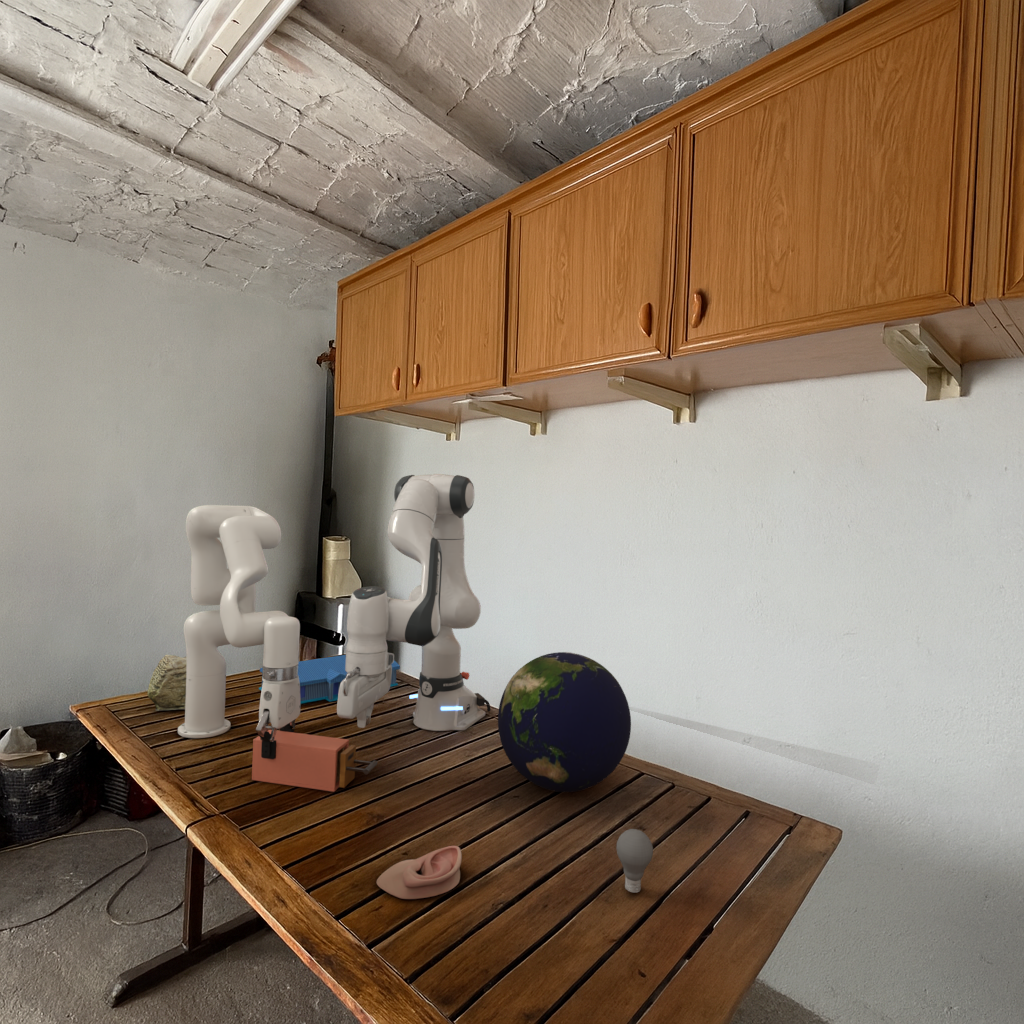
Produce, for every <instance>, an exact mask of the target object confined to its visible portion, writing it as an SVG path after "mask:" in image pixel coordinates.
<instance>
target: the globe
mask: <svg viewBox="0 0 1024 1024" xmlns="http://www.w3.org/2000/svg"><path fill="white" fill-rule="evenodd" d="M497 712H498V713H497V730H498V735H499V740H500V743H501V746H502V749H503V751H504V753H505V756H506V757H507V759H508V761H509V762H510V764H511V765H512V766H513V768H515V770H516V771H517V772H518V773H519V774H520V775H521V776H522V777H524V778H525V779H526V780H527V781H529V782H530V783H532V784H533V785H534V786H535V785H536V786H538V787H540V788H542V789H545V790H547V791H551V792H557V793H574V792H581V791H584V790H587V789H591V788H593V787H594V786H597V785H598V784H600V783H601V782H603V781H604V780H605V779H607V778H608V777H609V776H610V775H611V774H612V773H613V772H614V771H615V770H616V768H617V767H618V766H619V765H620V763H621V762H622V760H623V758H624V756H625V754H626V751H627V749H628V745H629V742H630V738H631V731H632V730H631V729H632V717H631V710H630V705H629V702H628V698H627V697H626V694H625V692H624V690H623V687H622V686H621V684H620V683H619V681H618V680H617V678H616V677H615V676H614V675H613V673H612V672H610V671H609V669H607V668H606V667H605V666H604V665H602V664H601V663H600V662H598V661H596V660H594V659H592V658H590V657H588V656H586V655H582V654H579V653H575V652H570V651H561V652H559V651H558V652H551V653H547V654H543V655H540V656H538V657H536V658H534V659H532V660H529V661H528V662H527V663H525V664H524V665H523V666H521V667H520V668H519V669H518V670H517V671H516V672H514V674H513V676H512V677H511V678H510V679H509V681H508V682H507V684H506V686H505V688H504V691H503V692H502V696H501V698H500V701H499V705H498V711H497Z"/></svg>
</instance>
